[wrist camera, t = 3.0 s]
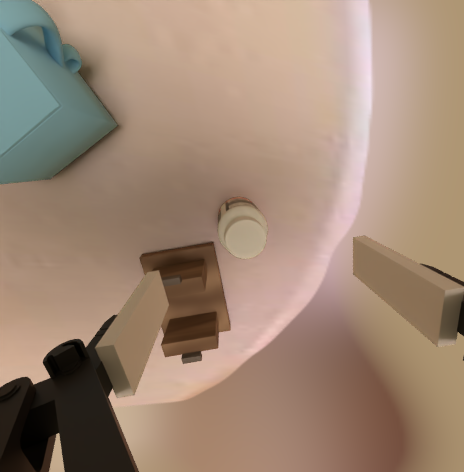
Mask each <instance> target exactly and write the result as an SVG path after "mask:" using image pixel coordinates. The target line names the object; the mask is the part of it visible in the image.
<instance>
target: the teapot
mask: <svg viewBox="0 0 464 472" xmlns="http://www.w3.org/2000/svg"><path fill="white" fill-rule="evenodd" d="M81 66H82V61H81V57H80V55H79V53H78V52H77V50H76V49H75V48H74V47H72V46H71V45H69V44H63V45H62V41H61V37H60V34H59V31H58V29H57V27H56V25H55V23H54V21H53V20H52V18H51V17H50V16H49V15H48V13H47V12H46V11H45V10H44V9H43V8H42V7H41V6H39V5H38V4H37V3H35V2H33V1H31V0H0V184H8V183H18V182H28V181H38V180H47V179H51V178H52V177H54V176H55V175H56V174H57V173H59V172H60V171H61V170H62V169H64V168H65V167H66V166H67V165H69V164H70V163H71V162H72V161H74V160H75V159H76V158H78V157H79V156H80V155H81V154H83V153H84V152H85V151H86V150H88V149H89V148H90V147H91V146H93V145H94V144H95V143H97V142H98V141H99V140H100V139H102V138H103V137H104V136H105V135H107V134H108V133H109V132H110V131H112V130H113V129H114V128H116V127H117V126H118V125H117V124H116V122H115V121H114V119H113V118H112V117H111V115H110V114H109V113H108V111H107V110H106V109H105V107H104V106H103V105H102V103H101V102H100V101H99V99H98V98H97V97H96V95H95V94H94V93H93V91H92V90H91V89H90V87H89V86H88V85H87V83H86V82H85V81H84V79H83V78H82V77H81V75H80V74H79V73H78V70H79V69H80V68H81Z"/></svg>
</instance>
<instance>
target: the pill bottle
mask: <svg viewBox="0 0 464 472" xmlns="http://www.w3.org/2000/svg"><path fill="white" fill-rule="evenodd" d="M267 233H268V226H267V222H266V220H265V218H264V216H263V214H262V213H261V212H260V211H259V210H258V208H257V207H256V206H255V205H254V204H253V203H252V202H251V201H250V200H248V199H246V198H243V197H235V198H231V199H229V200H227V201H226V202H225V203H224V204H223V205H222V207H221V208H220V211H219V215H218V237H219V240H220V242H221V244H222V245H223V246H224V247H225V248H226V249H227V250H228V251H229V252H230V253H231V254H232V255H233V256H235V257H237V258H240V259H250V258H253V257H255V256H257V255H258V254H260V253H261V252H262V250H263V249H264V247H265V245H266V237H267Z"/></svg>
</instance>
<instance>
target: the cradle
mask: <svg viewBox="0 0 464 472" xmlns="http://www.w3.org/2000/svg"><path fill="white" fill-rule="evenodd" d="M140 261H141V264H142V268H143V271H144V274H145V275H146V274H147V272H152V271H157V270H159V273H160V276H161V279H162V283H163V286H164V290H165V293H166V296H167V300H168V303H169V306H168V309H167V312H166V314H165V317H164V319H163V322H162V324H161V327H162V330H163V333H164V338H163V341H162V344H161V346H162V349H163V352H164V355H165V357H169V356H175V355H181V354H182V362H183V364H185V363H191V362H197V361H202V354H201V351H205V350H211V349H217V348H218V338H219V332H223V331H229V330H231V328H230V321H229V316H228V311H227V306H226V301H225V297H224V292H223V287H222V282H221V277H220V272H219V267H218V263H217V258H216V253H215V248H214V243H213V242H212V243H207V244H201V245H195V246H189V247H184V248H178V249H172V250H166V251H160V252H155V253H149V254H143V255H142V256H141V257H140Z"/></svg>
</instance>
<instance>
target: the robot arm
mask: <svg viewBox="0 0 464 472" xmlns="http://www.w3.org/2000/svg"><path fill="white" fill-rule="evenodd" d="M353 275H355V276H356V277H357V278H358V279H359V280H361V281H362V282H363V283H364V284H365V285H366V286H367V287H369V288H370V289H371V290H372V291H373V292H374V293H375V294H377V295H378V296H379V297H380V298H381V299H382V300H384V301H385V302H386V303H387V304H388V305H390V306H391V307H392V308H393V309H394V310H395V311H396V312H398V313H399V314H400V315H401V316H402V317H403V318H405V319H406V320H407V321H408V322H409V323H410V324H411V325H413V326H414V327H415V328H416V329H417V330H418V331H420V332H421V333H422V334H423V335H424V336H425V337H427V338H428V339H429V340H430V341H431V342H432V343H433V344H435V345H436V346H437V347H440V346H447V345H453V344H456V339H457V333H458V332H459V333H460V334H462V335H463V336H464V282H462V281H460V280H458V279H456V278H454V277H452V276H450V275H448V274H446V273H443V272H442V271H440V270H438V269H436V268H434V267H431V266H428V265H424V264H419V263H417V262H415V261H413V260H411V259H409V258H407V257H405V256H403V255H401V254H400V253H398V252H396V251H394V250H392V249H390V248H388V247H386V246H384V245H382V244H380V243H378V242H376V241H374V240H372V239H370V238H368V237H366V236H359V237H353ZM168 306H169V303H168V300H167V296H166V293H165V290H164V286H163V283H162V279H161V276H160V273H159V270H157V271H152V272H147V274H146V275H145V277H144V278H143V280H142V281H141V282H140V284H139V285H138V287H137V288H136V290H135V291H134V292H133V294H132V295H131V297H130V298H129V300H128V301H127V302H126V304H125V305H124V307H123V308H122V310H121V311H120V312H119V314H118V315H113V316H112V317H111V318H109V319H108V320H107V321H106V322H105V323H104V324H103V325H102V327H101V328H100V331H98V332H97V333H96V335H95V337H94V338H93V339H92V340H91V342H90V343H89V344H88V346H87V347H86V348H85V346H84V344H83V341H81V340H80V339H73V340H69V341H67V342H64V343H62V344H60V345H59V346H57V347H55V348H54V349H53V350H51V351H50V352H49V353H48V354H47V355H46V357H45V358H44V360H43V364H44V366H45V368H46V370H47V371H48V373H49V375H50V377H51V378H49V379H47V380H44V381H42V382H39V383H37V384H34V385H33V383H32V381H31V379H30V378H28V377H21V378H18V379H15V380H13V381H11V382H9V383H7V384H5V385H3V386H2V387H0V472H49V468H50V463H51V458H52V453H53V448H54V443H55V438H56V434H57V433H59V434H60V441H61V447H62V455H63V462H64V470H65V472H139V471H138V468H137V466H136V463H135V461H134V459H133V456H132V454H131V451H130V449H129V447H128V444H127V442H126V439H125V437H124V434H123V432H122V429H121V427H120V425H119V422H118V420H117V417H116V415H115V412H114V410H113V408H112V405H111V403H110V400H109V398H108V396H109V394H110V392H111V390H112V388H113V390H114V392H115V395H116V397H117V398H119V397H126V396H132V395H134V394H135V392H136V389H137V387H138V384H139V381H140V379H141V376H142V374H143V371H144V368H145V366H146V363H147V361H148V358H149V356H150V353H151V350H152V348H153V345H154V343H155V340H156V337H157V335H158V332H159V330H160V327H161V324H162V322H163V319H164V317H165V314H166V312H167V309H168ZM463 360H464V357H463Z"/></svg>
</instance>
